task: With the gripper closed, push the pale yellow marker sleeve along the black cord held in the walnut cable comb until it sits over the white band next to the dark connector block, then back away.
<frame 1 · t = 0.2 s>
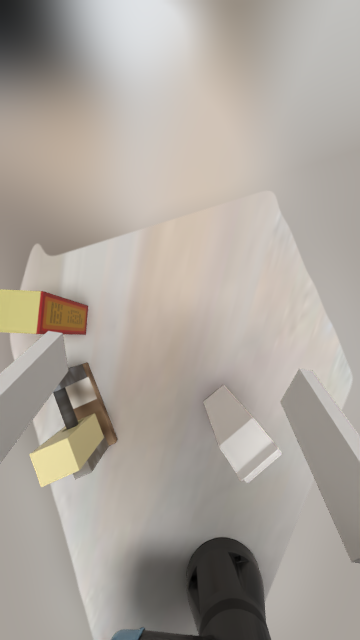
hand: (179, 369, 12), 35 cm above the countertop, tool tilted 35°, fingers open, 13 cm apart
baking soda box: (66, 319, 48), on the countertop
marker sleeve: (71, 444, 36), point 10 cm above the countertop, slide at 0.0 cm
milk: (221, 403, 46), on the countertop
cable comb: (89, 405, 46), on the countertop
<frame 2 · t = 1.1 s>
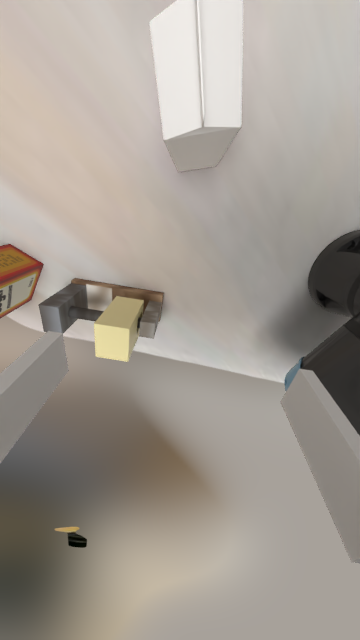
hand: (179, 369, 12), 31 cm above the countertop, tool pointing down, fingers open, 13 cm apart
baking soda box: (21, 273, 42), on the countertop
marker sleeve: (121, 326, 35), point 10 cm above the countertop, slide at 0.0 cm
milk: (195, 145, 31), on the countertop
cable comb: (119, 299, 44), on the countertop
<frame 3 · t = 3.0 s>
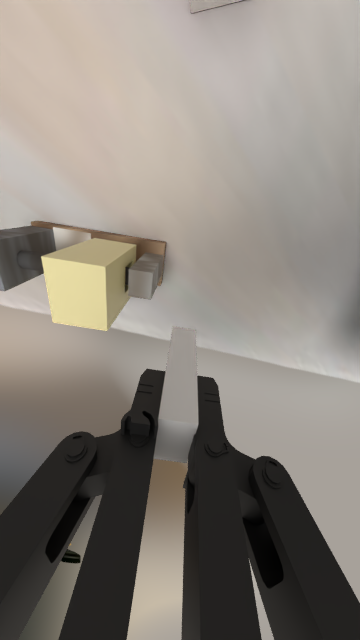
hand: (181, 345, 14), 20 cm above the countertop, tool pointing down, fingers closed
marker sleeve: (100, 278, 22), point 10 cm above the countertop, slide at 0.0 cm
cable comb: (103, 253, 31), on the countertop
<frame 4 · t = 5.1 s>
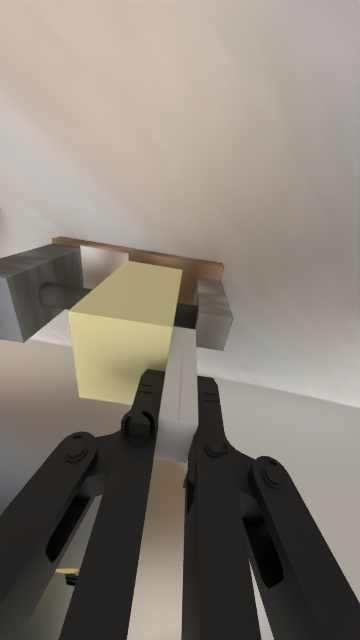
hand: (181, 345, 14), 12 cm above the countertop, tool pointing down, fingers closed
marker sleeve: (140, 321, 16), point 10 cm above the countertop, slide at 1.2 cm, touching gripper
cable comb: (140, 276, 24), on the countertop
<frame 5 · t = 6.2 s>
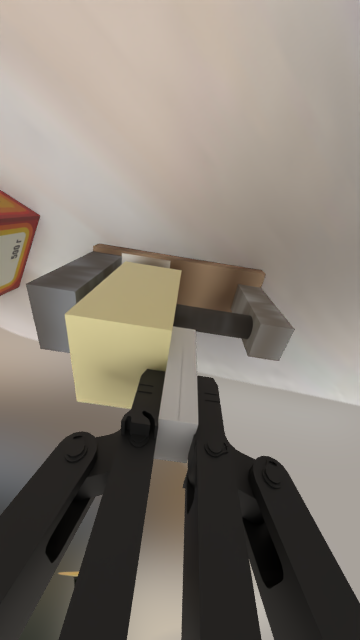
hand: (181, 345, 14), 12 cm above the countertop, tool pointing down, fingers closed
baking soda box: (0, 236, 23), on the countertop
marker sleeve: (139, 323, 15), point 10 cm above the countertop, slide at 5.7 cm, touching gripper
cable comb: (177, 283, 24), on the countertop
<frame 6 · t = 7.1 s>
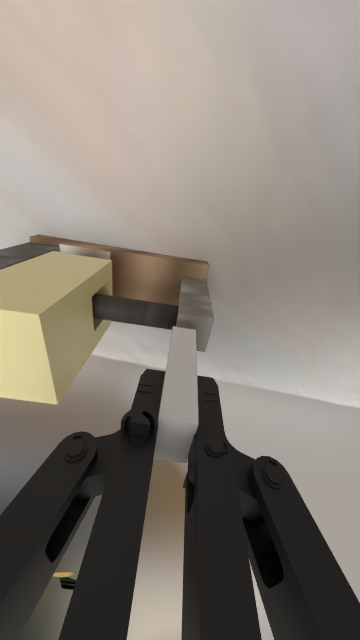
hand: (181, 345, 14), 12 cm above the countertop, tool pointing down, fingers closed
marker sleeve: (55, 313, 15), point 10 cm above the countertop, slide at 5.7 cm
cable comb: (124, 275, 24), on the countertop
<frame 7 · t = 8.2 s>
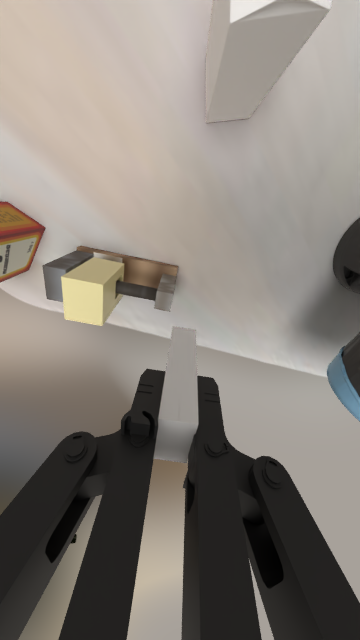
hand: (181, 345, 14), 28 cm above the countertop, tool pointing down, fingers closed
baking soda box: (19, 238, 38), on the countertop
marker sleeve: (97, 288, 31), point 10 cm above the countertop, slide at 5.7 cm
milk: (227, 91, 28), on the countertop
cable comb: (128, 271, 40), on the countertop
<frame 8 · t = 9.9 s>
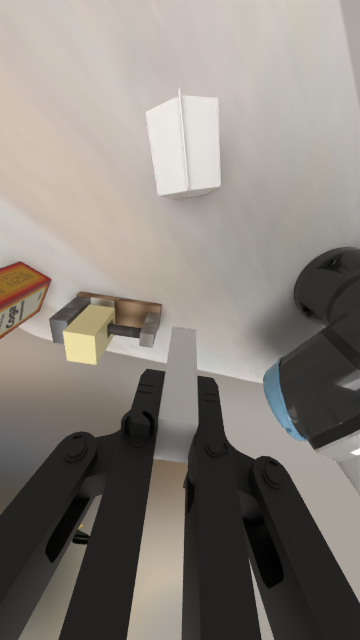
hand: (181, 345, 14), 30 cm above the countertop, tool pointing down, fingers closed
baking soda box: (31, 287, 46), on the countertop
marker sleeve: (92, 332, 39), point 10 cm above the countertop, slide at 5.7 cm
milk: (188, 176, 35), on the countertop
cable comb: (120, 310, 47), on the countertop
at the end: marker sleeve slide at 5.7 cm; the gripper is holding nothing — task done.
